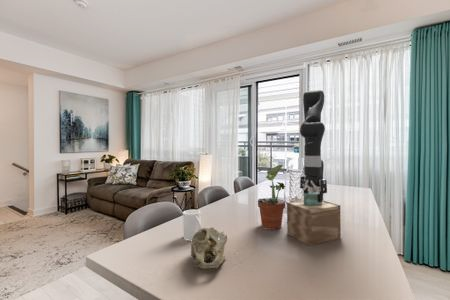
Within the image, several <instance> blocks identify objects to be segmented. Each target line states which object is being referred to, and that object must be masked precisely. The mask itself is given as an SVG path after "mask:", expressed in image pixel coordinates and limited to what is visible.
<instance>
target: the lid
mask: <svg viewBox="0 0 450 300" xmlns="http://www.w3.org/2000/svg"><path fill="white" fill-rule="evenodd" d="M317 194H318V193H317V192H315V193H307V194H304V193H303V200H300V201H293V202H290V203H291V204H294V205H297V206H300V207H302V208H305V209H308V210H310V213H315V212H321V211H328V210H334V209H338V206H337V205H333V204H330V203H331V202H330V203H326V202H323V201H324V200H323V201H322V202H320V203H319V202H318V198H317Z"/></svg>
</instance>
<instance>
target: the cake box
mask: <svg viewBox="0 0 450 300" xmlns="http://www.w3.org/2000/svg"><path fill="white" fill-rule="evenodd" d="M323 202H326V203H330V204H333V205H337V206H338V209H334V210H328V211H321V212H315V213H310V210H308V209H305V208H302V207H300V206H297V205H294V204H291V202H286V223H287V224H286V230H287V231H286V233H287V235H289V236H291V237H292V238H294V239H296V240H298V241H300V242H301V243H303V244H305V245H307V246H311V245H317V244H320V243H321V244H322V243H325V242H329V241H333V240H338V239H341V238H342V237H341V235H342V234H341V231H342V228H341V221H342V220H341V204H337V203H333V202H330V201H327V200H323Z"/></svg>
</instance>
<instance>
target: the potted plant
mask: <svg viewBox="0 0 450 300" xmlns="http://www.w3.org/2000/svg"><path fill="white" fill-rule="evenodd" d="M283 166H284V165H283V164H279V165H276V166H274V167H272V168H270V169H269V170H267V172H266V174H267V175H266V176H265V179H267V180H268V181H271V185H269V187H270V188H271V197H270V198H269V197H265V198H258V200H257V206H258V208H259V212H260V214H259V215H260V222H261V227H262V226H263V227H264V229H265V228H266V229H265V230H269V229H270V231H271V230H278V229H280V228H281V227H282V224H283V215H284V209H286V201H285V200H284V199H280V198H278V196H279V192H280V191H281V190H284V189H285V187H286V186H285V184H284V183H283V182H277V181H276V183H277V184H278V185H277V184H276V185H274V179H275V178H276V177H277V175H278V173H279V171H281V169H282V167H283ZM276 191H277V195H276ZM263 227H262V228H263Z"/></svg>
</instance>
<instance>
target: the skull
mask: <svg viewBox="0 0 450 300" xmlns="http://www.w3.org/2000/svg"><path fill="white" fill-rule="evenodd" d="M218 239H219V240H218ZM190 242H191V243H190V257H191V261H193V264H194V265H195V266H196V267H198V268H201V269H211V268H212V269H217V268H219V267H220V266H221V264H222V263H224V260H225V261H226V259H225V258H226V255H224V252H225V245H226V243H227V242H228V235H227V234H225V232H224V231H221V232H219V231H218V230H217V229H215V228H214V227H209V228H208V227H201V229H200V230H198V231H197V232H196V233H195V235H194V236H193V238H192V241H190ZM209 259H210V261H212V262H208V263H207V262H206V261H208V260H209ZM204 261H205V262H204Z"/></svg>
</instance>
